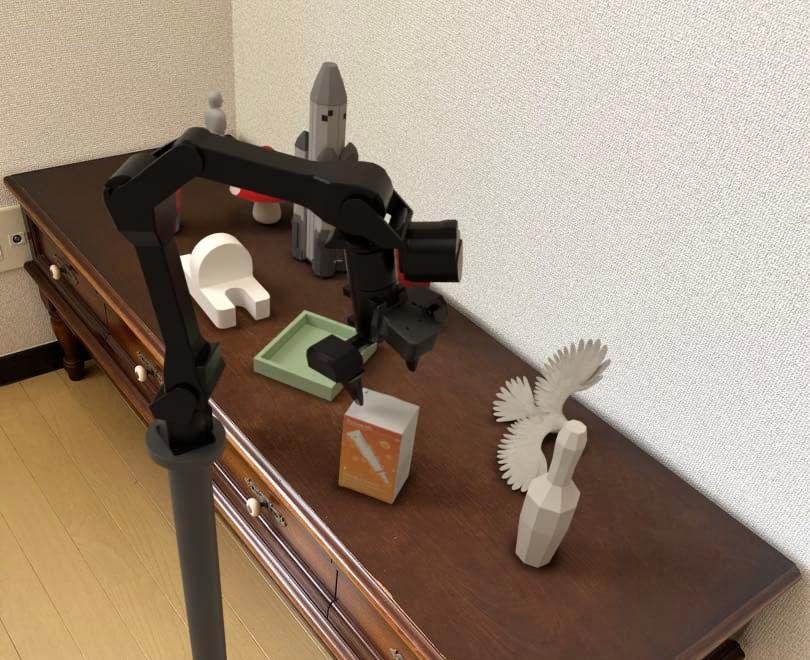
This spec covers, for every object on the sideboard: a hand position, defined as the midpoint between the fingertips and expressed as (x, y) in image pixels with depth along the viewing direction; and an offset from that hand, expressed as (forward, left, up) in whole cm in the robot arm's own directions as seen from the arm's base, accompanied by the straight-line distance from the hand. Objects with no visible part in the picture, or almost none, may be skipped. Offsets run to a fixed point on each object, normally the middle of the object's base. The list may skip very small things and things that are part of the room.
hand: (386, 387), depth 105 cm
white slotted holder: (0, +48, -15) cm, 50 cm away
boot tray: (+5, +25, -14) cm, 29 cm away
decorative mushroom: (+19, +68, -15) cm, 72 cm away
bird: (+21, -7, -15) cm, 27 cm away
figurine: (+22, +95, -15) cm, 99 cm away
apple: (+23, +30, -15) cm, 41 cm away
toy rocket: (+21, +50, -15) cm, 56 cm away
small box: (-2, -2, -15) cm, 15 cm away
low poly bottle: (+9, -23, -15) cm, 29 cm away
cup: (0, +73, -15) cm, 74 cm away
